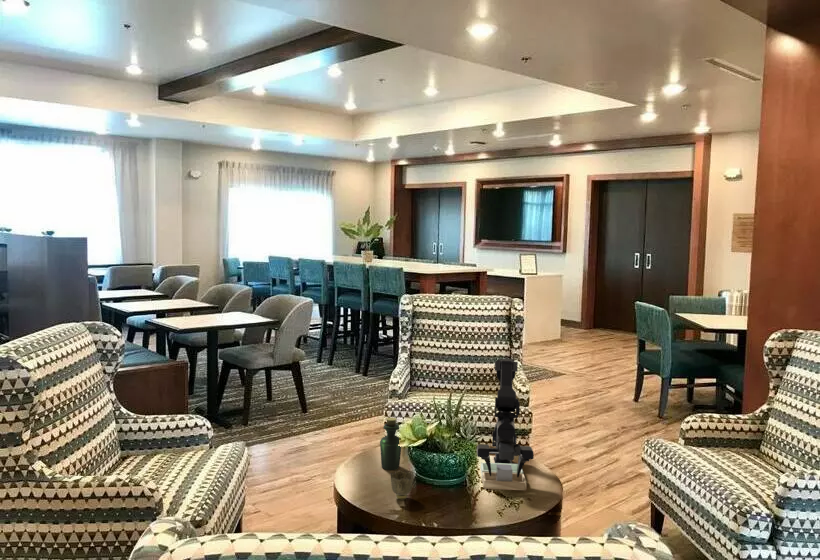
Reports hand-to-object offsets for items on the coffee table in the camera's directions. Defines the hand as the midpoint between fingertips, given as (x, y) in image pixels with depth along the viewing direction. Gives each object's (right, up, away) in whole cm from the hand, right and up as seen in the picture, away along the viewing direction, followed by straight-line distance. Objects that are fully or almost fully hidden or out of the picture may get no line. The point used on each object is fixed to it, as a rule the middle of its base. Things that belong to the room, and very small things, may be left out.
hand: (504, 476), depth 216 cm
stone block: (0, -3, 0) cm, 3 cm away
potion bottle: (-39, -2, +17) cm, 43 cm away
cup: (-35, -4, -11) cm, 37 cm away
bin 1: (0, -3, +10) cm, 10 cm away
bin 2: (0, -4, 0) cm, 4 cm away
